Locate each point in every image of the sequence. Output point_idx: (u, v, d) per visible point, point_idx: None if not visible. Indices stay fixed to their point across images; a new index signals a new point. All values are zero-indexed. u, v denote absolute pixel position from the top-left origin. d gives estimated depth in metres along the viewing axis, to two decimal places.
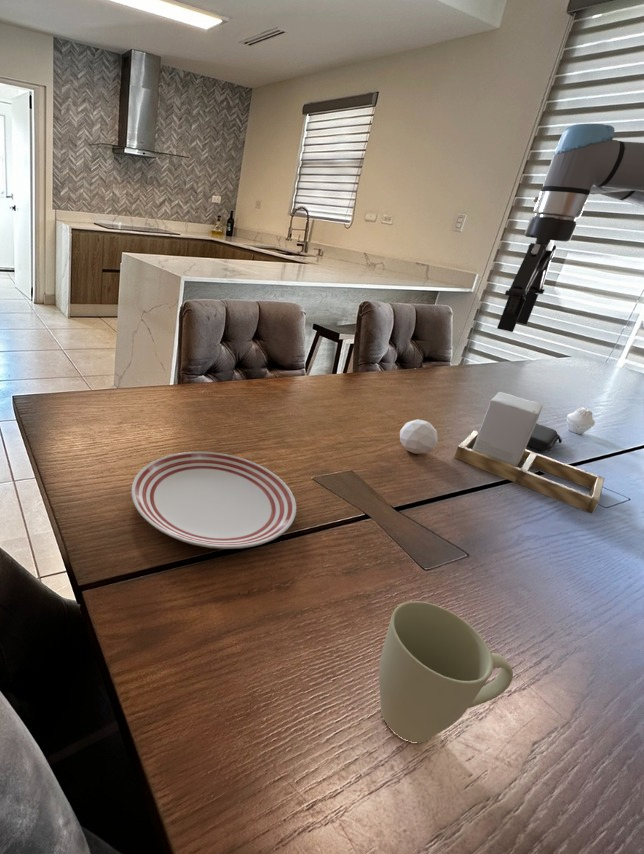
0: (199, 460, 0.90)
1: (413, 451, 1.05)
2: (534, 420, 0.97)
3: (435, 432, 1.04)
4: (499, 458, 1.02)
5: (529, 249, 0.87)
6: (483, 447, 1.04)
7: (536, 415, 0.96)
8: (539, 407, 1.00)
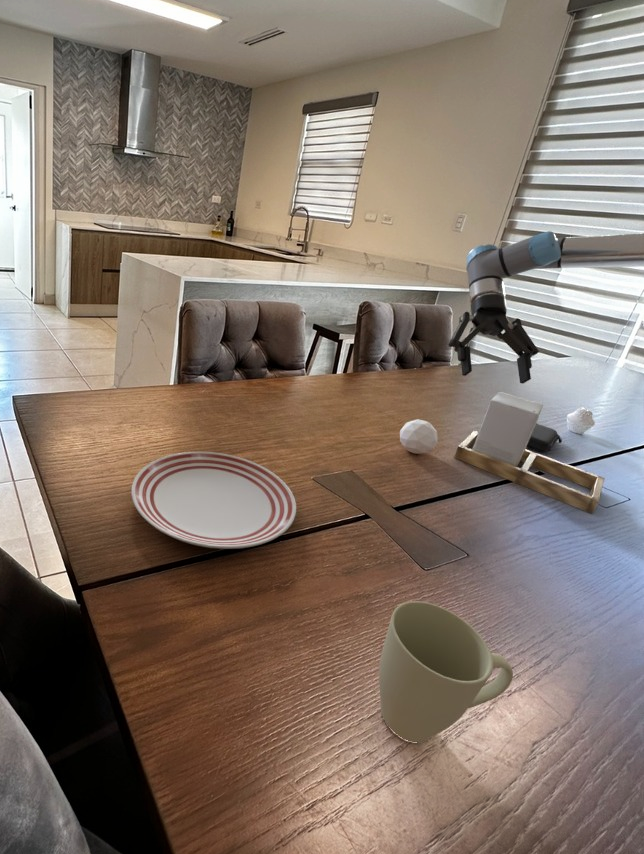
0: (199, 460, 0.90)
1: (413, 451, 1.05)
2: (534, 420, 0.97)
3: (435, 432, 1.04)
4: (499, 458, 1.02)
5: (459, 319, 1.18)
6: (483, 447, 1.04)
7: (536, 415, 0.96)
8: (539, 407, 1.00)
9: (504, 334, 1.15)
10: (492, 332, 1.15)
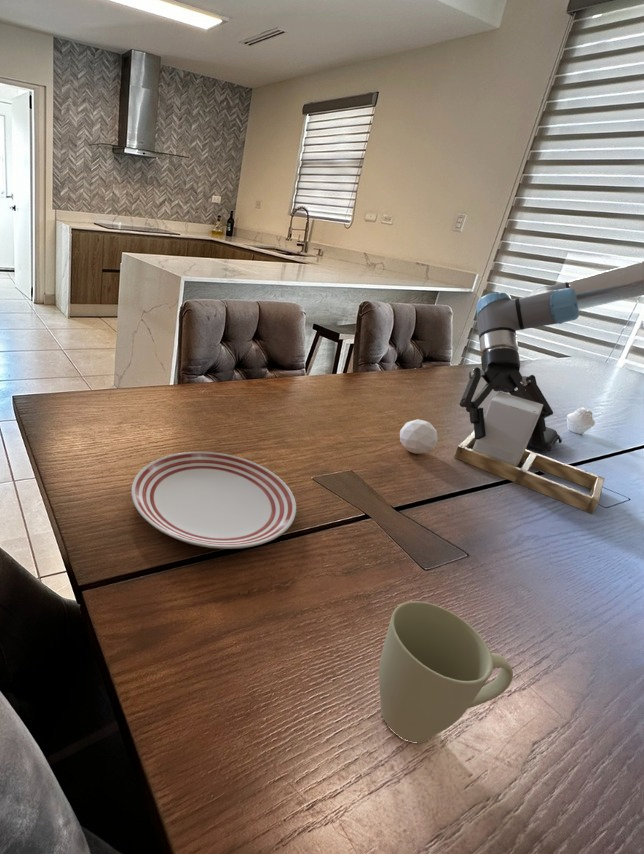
0: (199, 460, 0.90)
1: (413, 451, 1.05)
2: (534, 420, 0.97)
3: (435, 432, 1.04)
4: (499, 458, 1.02)
5: (469, 375, 1.09)
6: (483, 447, 1.04)
7: (536, 415, 0.96)
8: (539, 407, 1.00)
9: (517, 392, 1.07)
10: (505, 389, 1.07)
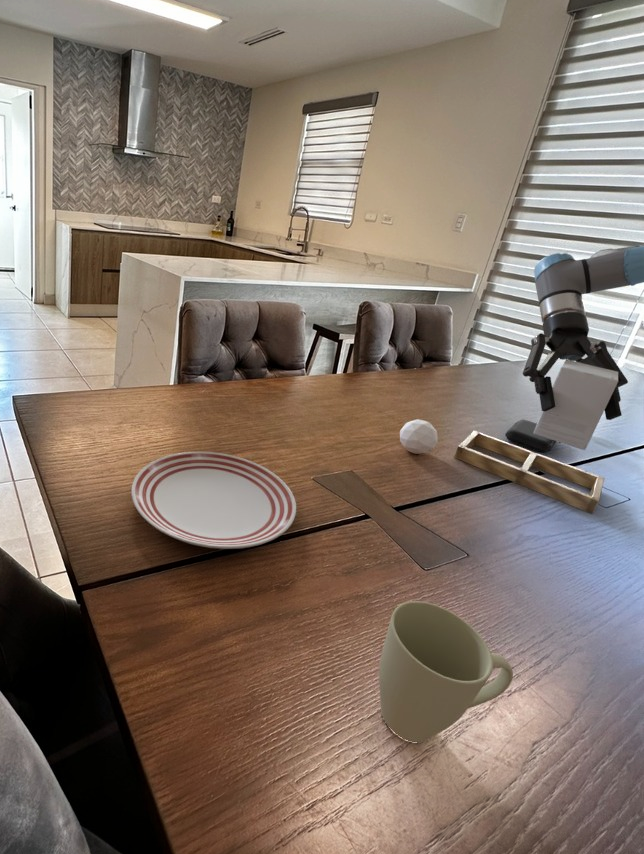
0: (199, 460, 0.90)
1: (413, 451, 1.05)
2: (613, 387, 0.87)
3: (435, 432, 1.04)
4: (570, 431, 0.93)
5: (532, 342, 1.00)
6: (551, 420, 0.94)
7: (616, 382, 0.87)
8: (616, 374, 0.90)
9: (586, 359, 0.97)
10: (572, 357, 0.98)
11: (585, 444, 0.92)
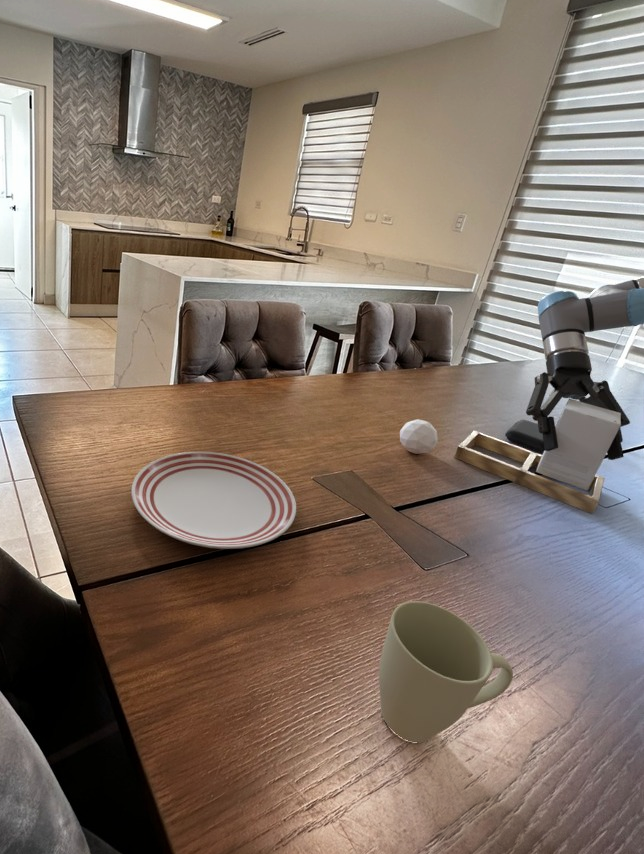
0: (199, 460, 0.90)
1: (413, 451, 1.05)
2: (616, 431, 0.88)
3: (435, 432, 1.04)
4: (572, 471, 0.94)
5: (535, 381, 1.01)
6: (554, 459, 0.96)
7: (618, 425, 0.88)
8: (618, 416, 0.91)
9: (588, 399, 0.98)
10: (575, 396, 0.99)
11: (587, 485, 0.93)
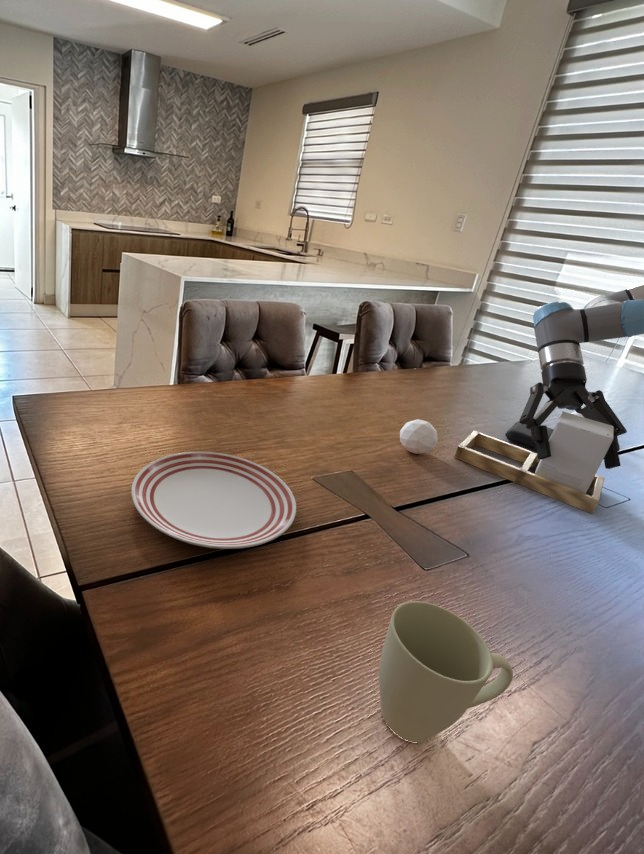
0: (199, 460, 0.90)
1: (413, 451, 1.05)
2: (608, 444, 0.89)
3: (435, 432, 1.04)
4: (566, 484, 0.95)
5: (530, 390, 1.02)
6: (548, 472, 0.97)
7: (611, 439, 0.89)
8: (611, 430, 0.93)
9: (584, 409, 0.99)
10: (570, 406, 0.99)
11: None
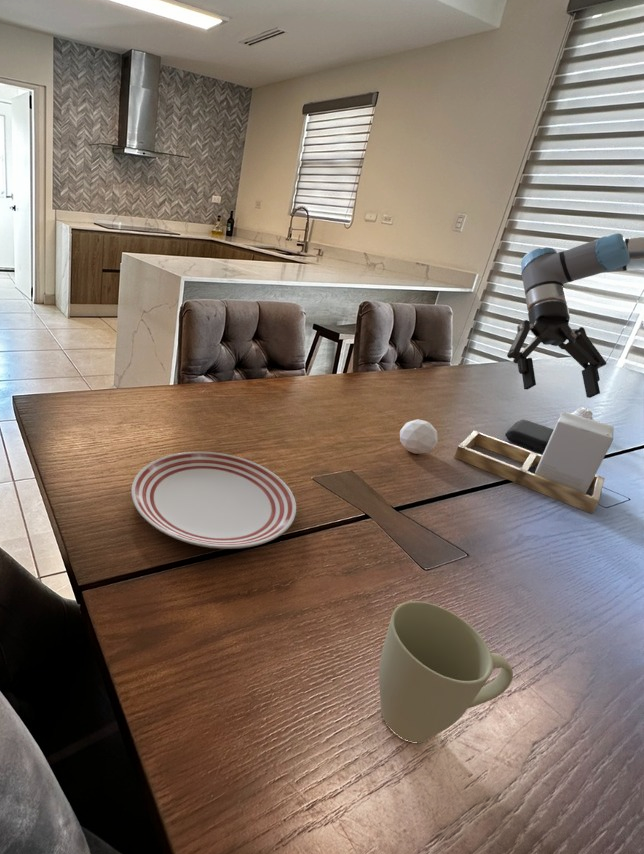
0: (199, 460, 0.90)
1: (413, 451, 1.05)
2: (608, 444, 0.89)
3: (435, 432, 1.04)
4: (566, 484, 0.95)
5: (518, 328, 1.09)
6: (548, 472, 0.97)
7: (611, 439, 0.89)
8: (611, 430, 0.93)
9: (567, 344, 1.06)
10: (554, 342, 1.07)
11: None
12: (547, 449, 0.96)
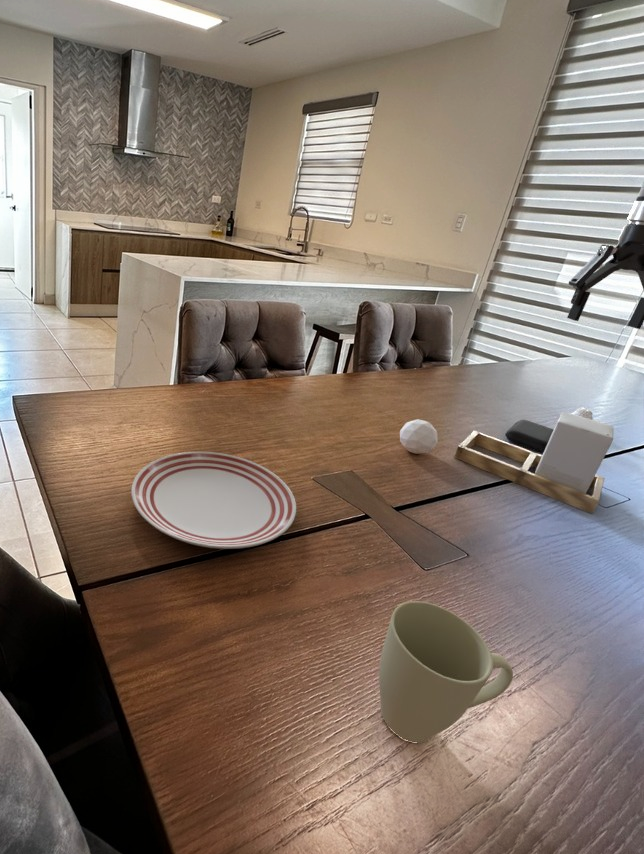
0: (199, 460, 0.90)
1: (412, 451, 1.05)
2: (608, 444, 0.89)
3: (435, 432, 1.04)
4: (566, 484, 0.95)
5: (599, 249, 1.02)
6: (548, 472, 0.97)
7: (611, 439, 0.89)
8: (611, 430, 0.93)
9: (642, 272, 1.02)
10: (629, 269, 1.02)
11: None
12: (547, 449, 0.96)
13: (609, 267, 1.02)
